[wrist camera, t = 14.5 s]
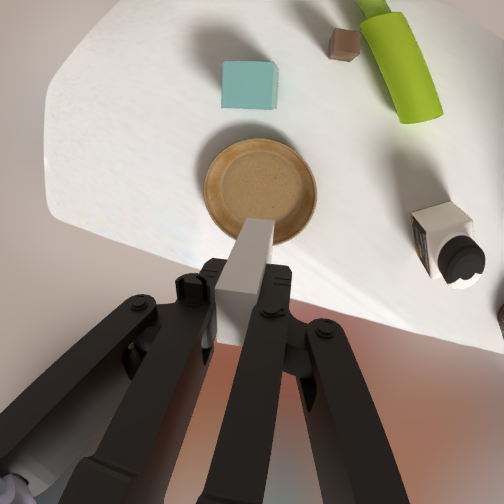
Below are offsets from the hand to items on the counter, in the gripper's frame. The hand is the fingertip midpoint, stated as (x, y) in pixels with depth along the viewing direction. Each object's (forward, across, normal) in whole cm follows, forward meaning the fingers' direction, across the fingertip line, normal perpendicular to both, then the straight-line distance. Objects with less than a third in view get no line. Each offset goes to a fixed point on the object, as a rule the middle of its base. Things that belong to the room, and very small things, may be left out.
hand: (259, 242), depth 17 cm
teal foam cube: (+23, +4, -9) cm, 25 cm away
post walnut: (+24, -6, -15) cm, 29 cm away
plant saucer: (+25, +3, +5) cm, 25 cm away
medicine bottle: (+25, -23, +7) cm, 34 cm away
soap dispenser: (+21, -16, -8) cm, 28 cm away
